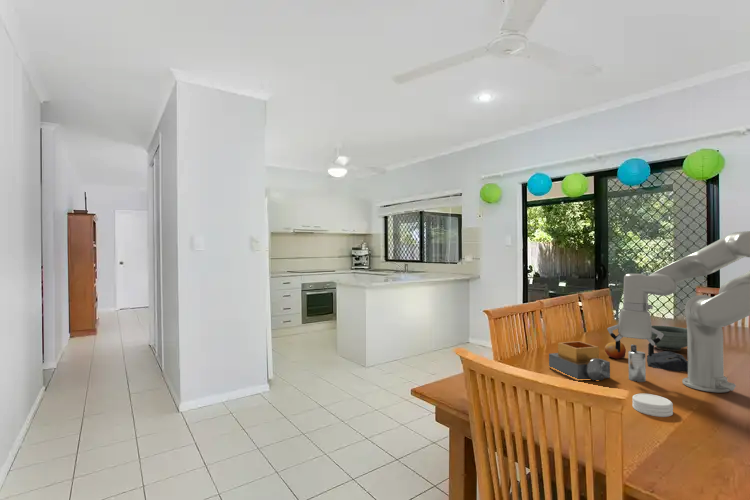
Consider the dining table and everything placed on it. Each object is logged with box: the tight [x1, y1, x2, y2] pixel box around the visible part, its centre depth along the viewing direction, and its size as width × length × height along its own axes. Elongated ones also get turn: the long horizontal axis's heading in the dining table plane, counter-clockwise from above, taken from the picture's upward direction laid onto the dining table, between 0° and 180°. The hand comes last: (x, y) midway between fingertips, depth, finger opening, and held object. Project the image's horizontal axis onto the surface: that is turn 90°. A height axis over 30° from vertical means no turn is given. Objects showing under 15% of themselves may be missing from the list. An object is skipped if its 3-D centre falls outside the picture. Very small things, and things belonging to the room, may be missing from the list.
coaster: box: [631, 393, 674, 418], centre depth 116 cm, size 10×10×4 cm
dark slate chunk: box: [646, 350, 688, 373], centre depth 162 cm, size 15×22×5 cm
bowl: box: [651, 325, 687, 352], centre depth 184 cm, size 21×21×10 cm
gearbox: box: [548, 340, 611, 381], centre depth 150 cm, size 18×14×11 cm
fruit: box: [604, 341, 626, 360], centre depth 172 cm, size 8×8×8 cm
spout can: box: [627, 344, 647, 383], centre depth 143 cm, size 5×5×12 cm
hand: (634, 353), depth 143 cm, fingers open, 9 cm apart
